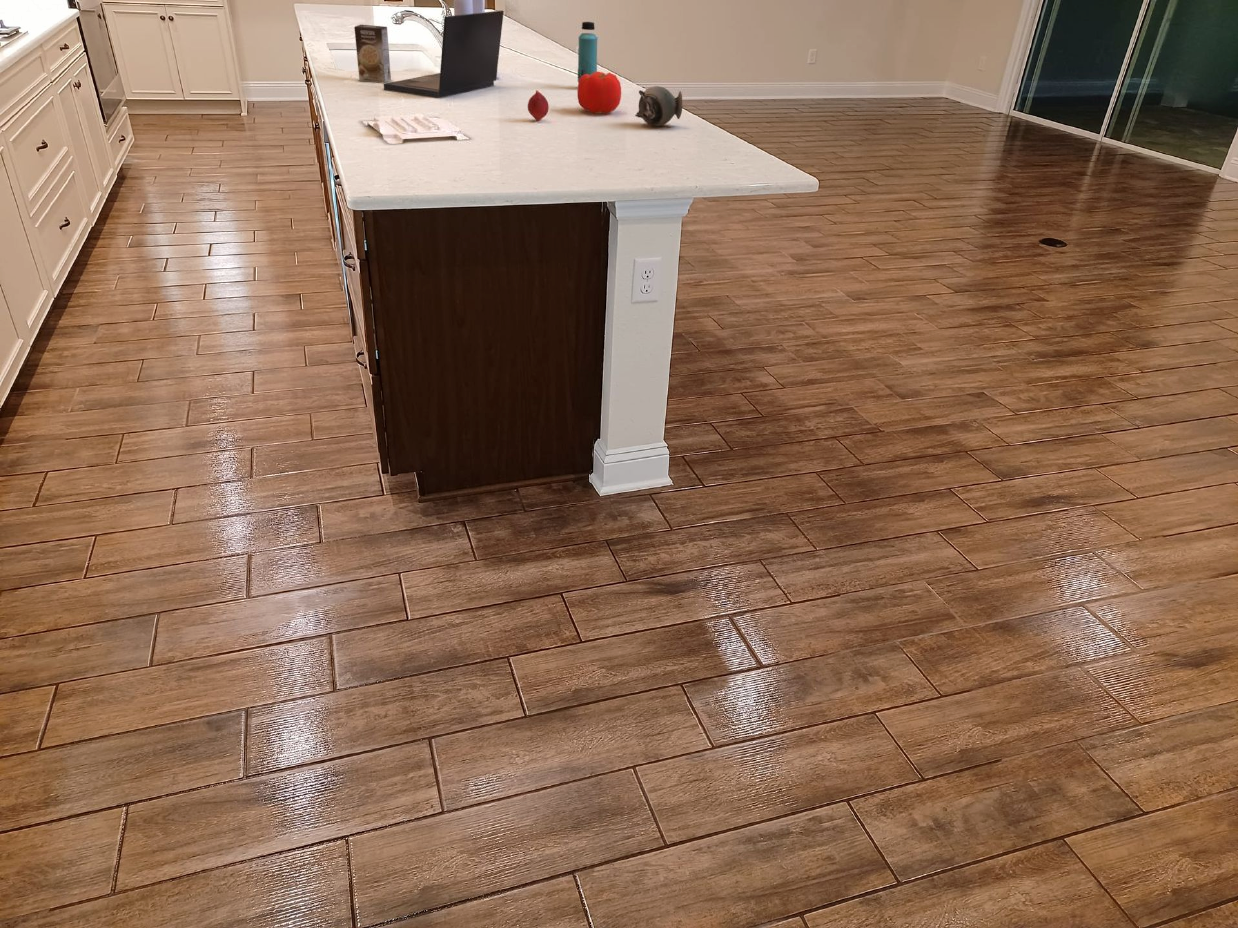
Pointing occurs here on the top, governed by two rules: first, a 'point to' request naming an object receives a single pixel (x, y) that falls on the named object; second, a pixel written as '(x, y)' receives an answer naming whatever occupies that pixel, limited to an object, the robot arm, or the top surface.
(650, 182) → the top surface
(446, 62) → the laptop screen
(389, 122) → the tray
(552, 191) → the top surface
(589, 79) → the tomato
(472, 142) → the top surface
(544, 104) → the onion
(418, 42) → the top surface
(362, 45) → the coffee box
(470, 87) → the laptop
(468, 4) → the robot arm
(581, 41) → the beverage bottle
